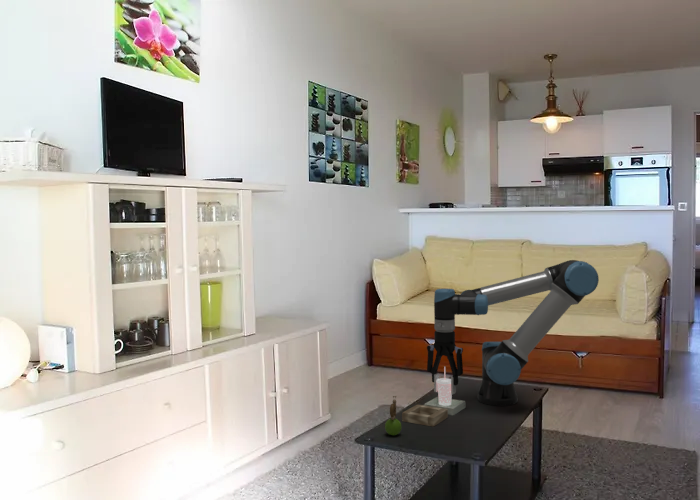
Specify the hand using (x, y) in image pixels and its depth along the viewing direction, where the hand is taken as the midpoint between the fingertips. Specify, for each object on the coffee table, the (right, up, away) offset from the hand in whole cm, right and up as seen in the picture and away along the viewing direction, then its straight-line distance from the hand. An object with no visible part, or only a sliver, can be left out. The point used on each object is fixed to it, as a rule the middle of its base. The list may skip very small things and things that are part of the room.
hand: (444, 392), depth 237 cm
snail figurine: (-21, -8, -28) cm, 36 cm away
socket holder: (-9, -7, -12) cm, 16 cm away
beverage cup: (0, -5, 0) cm, 5 cm away
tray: (0, -6, 0) cm, 6 cm away
